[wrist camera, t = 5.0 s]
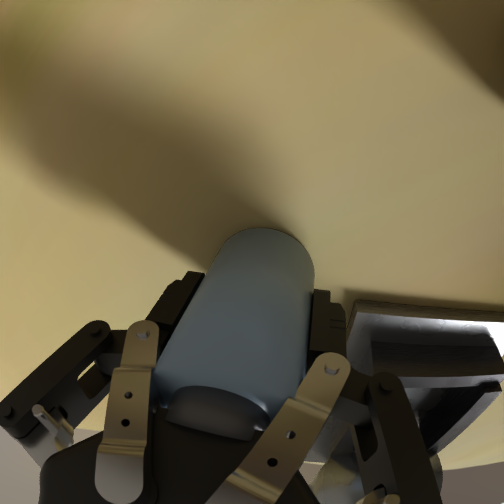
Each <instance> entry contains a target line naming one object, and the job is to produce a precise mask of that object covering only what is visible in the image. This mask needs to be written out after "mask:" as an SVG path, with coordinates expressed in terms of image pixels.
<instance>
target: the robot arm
mask: <svg viewBox="0 0 504 504" xmlns="http://www.w3.org/2000/svg"><path fill="white" fill-rule="evenodd" d="M204 277H205V274H204V273H200V272H193V271H188V272H187V273H186V275H185V276H184V278H183V279H182V280H175V281H174V282H172V283H171V284H170V285H168V286H167V288H166V289H165V291H164V292H163V294H162V295H161V297H160V298H159V300H158V301H157V303H156V304H155V306H154V307H153V308H152V310H151V311H150V313H149V314H148V316H147V317H146V319H145V320H141V321H137V322H135V323H133V324H132V325H131V326H130V327H129V328H128V330H111V329H110V326H109V324H108V323H107V322H105V321H102V320H96V321H92V322H90V323H88V324H86V325H85V326H84V327H83V328H82V329H80V330H79V331H78V332H77V333H76V334H75V335H73V336H72V337H71V338H70V339H69V340H68V341H67V342H65V343H64V344H63V345H62V346H61V347H60V348H59V349H57V350H56V351H55V352H54V353H53V354H52V355H51V356H50V357H48V358H47V359H46V360H45V361H44V362H43V363H42V364H41V365H40V366H38V367H37V368H36V369H35V370H34V371H33V372H32V373H31V374H30V375H29V376H28V377H26V378H25V379H24V380H23V381H22V382H21V383H20V384H19V385H18V386H17V387H16V388H15V389H14V390H13V391H12V392H11V393H9V394H8V395H7V396H6V397H5V398H4V399H3V400H2V401H1V402H0V426H2V427H3V428H4V429H5V430H6V431H7V432H8V433H9V435H10V436H12V437H13V438H14V439H15V440H16V441H17V442H18V443H20V444H21V445H22V446H23V447H24V449H25V450H26V451H27V452H28V453H29V455H30V456H31V457H32V458H33V459H34V460H35V462H36V463H37V464H38V465H39V466H40V467H41V472H40V497H39V503H38V504H320V502H319V501H318V499H317V498H316V496H315V495H314V493H313V492H312V490H311V489H310V487H309V486H308V484H307V483H306V481H305V479H304V478H303V476H302V475H301V473H300V472H299V468H300V467H301V465H302V464H303V462H304V460H305V459H306V457H307V455H308V454H309V452H310V450H311V448H312V447H313V445H314V443H315V441H316V440H317V438H318V436H319V434H320V432H321V431H322V429H323V427H324V425H325V423H326V421H327V420H328V418H329V416H332V417H334V418H337V419H339V420H342V421H345V422H347V423H349V427H350V431H351V435H352V440H353V444H354V448H355V453H356V457H357V462H358V467H359V471H360V476H361V481H362V486H363V491H364V497H363V498H361V499H359V500H358V501H357V502H356V503H355V504H442V500H441V496H440V492H439V489H438V485H437V482H436V478H435V475H434V472H433V468H432V465H431V462H430V459H429V456H428V453H427V450H426V447H425V444H424V441H423V438H422V435H421V432H420V429H419V426H418V423H417V421H416V418H415V415H414V412H413V410H412V407H411V404H410V402H409V399H408V397H407V394H406V391H405V389H404V386H403V384H402V382H401V380H400V379H399V378H398V377H397V376H396V375H394V374H392V373H389V372H379V373H376V374H375V375H373V376H372V377H371V376H368V375H366V374H363V373H360V372H358V371H357V370H355V369H354V368H353V367H352V366H351V365H350V364H349V362H348V360H347V351H346V323H345V321H346V318H345V311H344V309H343V307H342V306H341V304H339V303H331V302H330V291H327V290H319V289H314V291H313V299H312V312H311V323H310V334H309V345H308V355H307V370H306V376H305V378H304V379H303V381H302V383H301V384H300V386H299V387H298V389H297V393H296V397H295V398H293V397H289V398H288V399H287V400H286V402H285V403H284V405H283V406H282V408H281V409H280V411H279V412H278V414H277V415H276V416H275V418H274V419H273V421H272V422H271V424H270V425H269V426H268V428H267V429H266V431H260V430H255V432H254V436H253V440H252V441H245V440H240V439H235V438H230V437H226V436H221V435H217V434H213V433H209V432H205V431H201V430H197V429H193V428H190V427H186V426H183V425H179V424H176V423H172V422H169V421H166V420H165V418H166V415H167V413H168V411H169V409H167V408H166V406H165V403H164V401H163V398H162V396H161V394H160V391H159V389H158V386H157V383H156V381H155V378H154V376H153V371H154V367H155V365H156V364H157V362H158V360H159V358H160V356H161V354H162V352H163V351H164V349H165V347H166V345H167V343H168V341H169V340H170V338H171V336H172V334H173V332H174V330H175V329H176V327H177V325H178V323H179V321H180V320H181V318H182V316H183V314H184V312H185V311H186V309H187V307H188V305H189V303H190V302H191V300H192V298H193V296H194V295H195V293H196V291H197V289H198V288H199V286H200V284H201V282H202V280H203V279H204ZM93 361H94V363H95V364H94V365H93V366H92V367H91V368H90V369H89V370H88V371H87V372H86V373H85V374H84V375H83V376H82V377H81V378H80V379H79V380H78V381H77V379H78V376H79V375H80V374H81V373H82V372H83V371H84V370H85V369H86V368H87V367H88V366H89V365H90V364H91V363H92V362H93ZM108 393H109V397H108V403H107V410H106V417H105V424H104V430H103V431H101V432H99V433H97V434H95V435H93V436H91V437H89V438H87V439H85V440H83V441H81V442H78V443H76V444H74V445H73V442H74V440H73V435H74V429H75V428H76V427H77V426H78V425H79V424H80V423H81V422H82V420H83V419H84V418H85V417H86V416H87V415H88V414H89V413H90V412H91V411H92V410H93V409H94V408H95V407H96V406H97V405H98V404H99V403H100V401H101V400H102V399H103V398H104V397H105V396H106V395H107V394H108Z"/></svg>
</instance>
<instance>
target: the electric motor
mask: <svg viewBox="0 0 504 504" xmlns="http://www.w3.org/2000/svg"><path fill="white" fill-rule="evenodd" d="M346 351H347V360H348V362H349V364H350V365H351V366H352V367H353V368H354V369H355V370H357V371H358V372H360V373H363V374H366V375H368V376H371V377H372V376H373V375H375V374H376V373H379V372H389V373H392V374H394V375H396V376H397V377H398V378H399V379H400V380H401V382H402V384H403V386H404V389H405V391H406V394H407V397H408V399H409V402H410V404H411V407H412V410H413V412H414V415H415V418H416V421H417V423H418V426H419V429H420V432H421V435H422V438H423V441H424V444H425V447H426V450H427V453H428V456H429V459H430V462H431V465H432V468H433V472H434V475H435V478H436V482H437V485H438V489H439V492H440V491H441V488H442V481H443V476H442V475H443V474H442V473H443V472H442V466H441V462H440V459H439V457H438V455H437V453H438V452H440V451H441V450H442V449H443V448H445V447H446V446H447V445H448V444H449V443H450V442H452V441H453V440H454V439H455V438H456V437H457V436H458V435H459V434H461V433H462V432H463V431H464V430H465V429H466V428H467V427H468V426H469V425H470V424H471V423H472V422H473V421H474V420H475V419H476V418H477V417H478V416H479V415H480V414H481V413H482V412H483V411H484V410H485V409H486V408H487V407H488V406H489V405H490V404H491V403H492V402H493V401H494V400H495V399H496V398H497V396H498V395H499V394H500V393H501V392H502V389H501V386H500V383H501V382H502V380H503V379H504V362H503V359H502V356H503V354H504V312H488V311H474V310H460V309H448V308H436V307H424V306H414V305H403V304H393V303H383V302H374V301H364V300H356V301H355V304H354V308H353V311H352V314H351V318H350V321H349V324H348V327H347V330H346ZM304 461H309V462H322V463H325V464H324V465H323V467H322V468H321V469H320V471H319V472H318V473H317V474H316V476H315V477H314V478H313V479H312V481H311V482H310V483H309V484H308V486H309V487H310V489H311V490H312V492H313V493H314V495H315V496H316V498H317V499H318V501H319V502H320V504H355V503H356V502H357V501H358V500H359V499H361V498H363V497H364V491H363V486H362V481H361V476H360V471H359V467H358V462H357V457H356V453H355V448H354V444H353V440H352V435H351V431H350V427H349V423H347V422H345V421H342V420H339V419H337V418H334V417H332V416H329V418H328V420H327V421H326V423H325V425H324V427H323V429H322V431H321V432H320V434H319V436H318V438H317V440H316V441H315V443H314V445H313V447H312V448H311V450H310V452H309V454H308V455H307V457H306V459H305V460H304Z"/></svg>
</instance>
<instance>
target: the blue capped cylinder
mask: <svg viewBox="0 0 504 504" xmlns="http://www.w3.org/2000/svg"><path fill="white" fill-rule="evenodd" d="M314 276H315V273H314V265H313V262H312V259H311V257H310V255H309V254H308V252H307V251H306V249H305V248H304V247H303V246H302V245H301V244H300V243H299V242H298V241H297V240H295V239H294V238H293V237H291V236H289V235H287V234H285V233H283V232H280V231H277V230H274V229H268V228H252V229H247V230H244V231H241V232H239V233H237V234H235V235H233V236H232V237H230V238H229V239H228V240H227V241H226V242H225V243H224V245H223V246H222V247H221V249H220V251H219V253H218V254H217V256H216V258H215V260H214V261H213V263H212V265H211V266H210V268H209V270H208V272H207V273H206V275H205V277H204V279H203V280H202V282H201V284H200V286H199V288H198V289H197V291H196V293H195V295H194V296H193V298H192V300H191V302H190V303H189V305H188V307H187V309H186V311H185V312H184V314H183V316H182V318H181V320H180V321H179V323H178V325H177V327H176V329H175V330H174V332H173V334H172V336H171V338H170V340H169V341H168V343H167V345H166V347H165V349H164V351H163V352H162V354H161V356H160V358H159V360H158V362H157V364H156V365H155V367H154V371H153V376H154V378H155V381H156V383H157V386H158V389H159V391H160V394H161V396H162V398H163V401H164V403H165V406H166V408H167V409H169V411H168V413H167V415H166V418H165V420H166V421H169V422H172V423H176V424H179V425H183V426H186V427H190V428H193V429H197V430H201V431H205V432H209V433H213V434H217V435H221V436H226V437H230V438H235V439H240V440H245V441H252V440H253V436H254V432H255V430H260V431H266V429H267V428H268V426H269V425H270V424H271V422H272V421H273V419H274V418H275V416H276V415H277V414H278V412H279V411H280V409H281V408H282V406H283V405H284V403H285V402H286V400H287V399H288V398H289V397H293V398H295V397H296V393H297V389H298V387H299V386H300V384H301V383H302V381H303V379H304V378H305V376H306V370H307V355H308V345H309V334H310V323H311V312H312V299H313V291H314Z"/></svg>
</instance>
